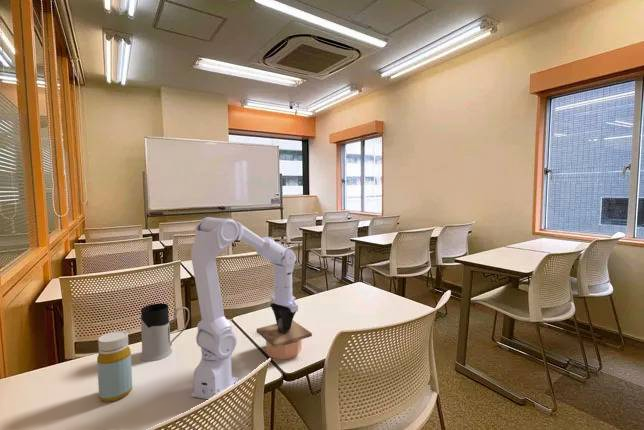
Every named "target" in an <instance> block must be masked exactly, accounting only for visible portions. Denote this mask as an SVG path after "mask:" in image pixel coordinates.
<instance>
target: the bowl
mask: <svg viewBox="0 0 644 430" xmlns="http://www.w3.org/2000/svg"><path fill="white" fill-rule="evenodd" d="M265 342H266V343H265V344H266V346H265V347H266V348H265V350H266V354H268V356H269V357H270V358H271V357H273V358H272V359H278V360H289V359H291V358H294V357H298V355H299V354H300V352H301V351H302V339H301V340H298V341H295V342H291V343H288V344H285V345H282V346H278V347H275V348H274V347H273V346H272V345H271V344H270V343H268V342H267V341H266V340H265Z"/></svg>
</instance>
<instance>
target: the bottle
mask: <svg viewBox="0 0 644 430" xmlns="http://www.w3.org/2000/svg"><path fill="white" fill-rule="evenodd" d="M97 343H98V355H97V358H96V359H97V364H96V365H97V381H98V384H97V385H98V397H99V400H101V401H103V402H106V403H111V402H116V401H119V400H121V399H123V398H125V397H126V396H127V395H129V393H130V392H131V391H132V390H133V373H132V353H131V351H132V350H131V348H130V347H129V333H128V332H127V331H125V330H115V331H111V332H108V333H104V334H102V335H101V336H100V337H98V340H97Z"/></svg>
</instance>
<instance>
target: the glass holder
mask: <svg viewBox="0 0 644 430" xmlns="http://www.w3.org/2000/svg"><path fill="white" fill-rule="evenodd" d="M180 309H184V310H186V311H187V320H186V323H185V325H184V327H183V328H182V330H181V331H179V333H178V334H177V335H176V336H174V337H173V339H172V340H171V330H170V329H171V327H170V326H171V324H170V323H173V322H176V318H177V317H176V315H177V312H178V311H180ZM140 314H141V315H140V331H141V332H140V335H141V356H140V359H141V361H144V362H156V361H161V360H163V359H166V358H167V357H169V356H170V355H171V354H172V353H173V349H172V344H173V342H174V341H175V340H176V339H177V338H178V337H179V336H181V334H182V333H183V332H184V331H185V330H186V328H187V327H188V323H189V321H190V311H189V308H188V307H185V306H180V307H178V308H176V310H175V312H174V314H173V319H172V320H171V321H170V319H169V318H170V316H169V305H168V303H163V302H162V303H158V302H157V303H152V304H149V305H145V306H143V307H141V309H140Z"/></svg>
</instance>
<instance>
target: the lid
mask: <svg viewBox="0 0 644 430" xmlns="http://www.w3.org/2000/svg"><path fill="white" fill-rule="evenodd" d="M256 333H258V335H260V337H262V338H263V339H264V340H265V342H266V341H267V342H268V343H270V344H271V345H272V346H273V347H274V348H275V347H278V346H282V345H285V344H288V343H291V342H295V341H298V340H301V341H302V340H304V339H308V338H311V337H313V333H312V332H311V331H309V330H308V329H306V328H305V327H303V326H302V325H300V323H298V322H296V321H295V320H294V319H293V320H292V324H291V328H290V329H289V330H286V331H284V329H283V324H282V318H280V319H278V326H277V323H273V324H270V325H265V326H262V327H257V328H256Z"/></svg>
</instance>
